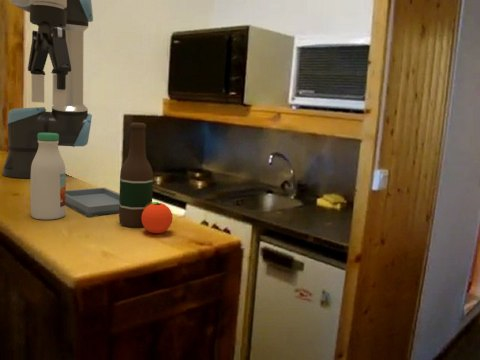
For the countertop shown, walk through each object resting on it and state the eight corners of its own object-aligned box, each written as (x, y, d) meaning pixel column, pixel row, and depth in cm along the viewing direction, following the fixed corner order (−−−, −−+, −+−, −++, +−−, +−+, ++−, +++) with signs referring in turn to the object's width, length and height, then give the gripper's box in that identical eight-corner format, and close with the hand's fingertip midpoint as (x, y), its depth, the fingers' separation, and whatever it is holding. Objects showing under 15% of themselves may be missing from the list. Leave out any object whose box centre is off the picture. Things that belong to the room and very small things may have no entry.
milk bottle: (53, 222, 104) (53, 135, 100) (23, 218, 105) (22, 132, 102) (71, 214, 111) (72, 133, 108) (43, 210, 113) (43, 130, 109)
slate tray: (57, 200, 124) (57, 191, 124) (104, 195, 134) (104, 187, 133) (87, 217, 110) (88, 207, 109) (138, 210, 119) (139, 201, 119)
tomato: (131, 230, 102) (132, 200, 101) (155, 225, 107) (156, 196, 106) (154, 239, 97) (155, 207, 96) (178, 233, 102) (179, 203, 101)
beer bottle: (140, 217, 113) (143, 121, 109) (158, 225, 107) (162, 124, 103) (112, 221, 107) (114, 121, 103) (129, 230, 102) (132, 124, 98)
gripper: (12, 9, 106) (13, 100, 110) (51, -4, 88) (51, 105, 92) (45, 15, 111) (45, 102, 115) (88, 4, 93) (86, 107, 97)
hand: (48, 103), depth 103 cm, fingers open, 13 cm apart
